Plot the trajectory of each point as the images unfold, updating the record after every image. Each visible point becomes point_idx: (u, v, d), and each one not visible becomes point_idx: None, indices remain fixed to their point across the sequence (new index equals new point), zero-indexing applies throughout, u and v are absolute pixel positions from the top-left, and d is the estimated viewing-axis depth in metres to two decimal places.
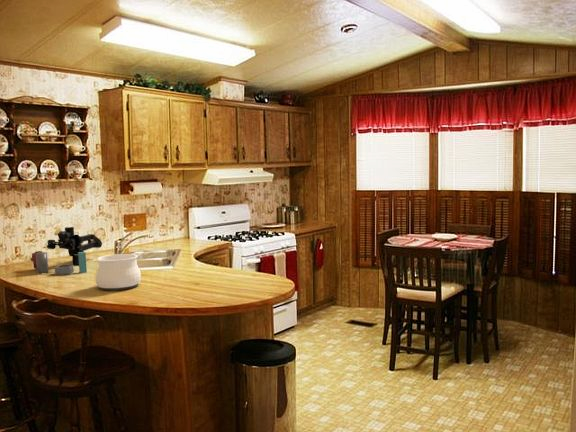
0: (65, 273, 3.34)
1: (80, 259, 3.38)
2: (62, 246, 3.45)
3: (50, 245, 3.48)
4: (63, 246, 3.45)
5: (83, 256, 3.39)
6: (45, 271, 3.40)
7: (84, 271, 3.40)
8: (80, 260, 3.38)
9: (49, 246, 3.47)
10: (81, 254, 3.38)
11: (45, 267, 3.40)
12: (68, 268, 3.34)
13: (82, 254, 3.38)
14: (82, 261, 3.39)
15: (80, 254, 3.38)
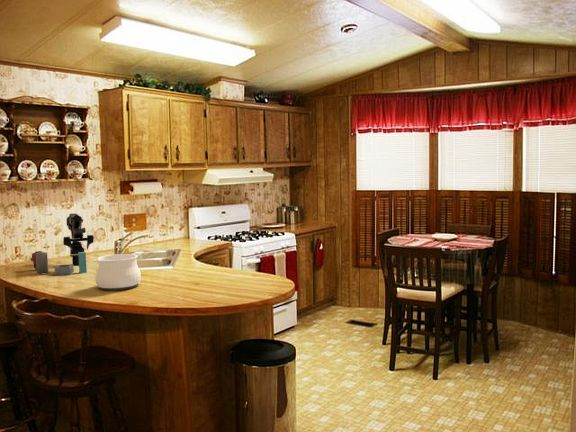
0: (65, 273, 3.34)
1: (80, 259, 3.38)
2: (88, 246, 3.50)
3: (71, 245, 3.46)
4: (88, 246, 3.51)
5: (83, 256, 3.39)
6: (45, 271, 3.40)
7: (84, 271, 3.40)
8: (80, 260, 3.38)
9: None
10: (81, 254, 3.38)
11: (45, 267, 3.40)
12: (68, 268, 3.34)
13: (82, 254, 3.38)
14: (82, 261, 3.39)
15: (80, 254, 3.38)
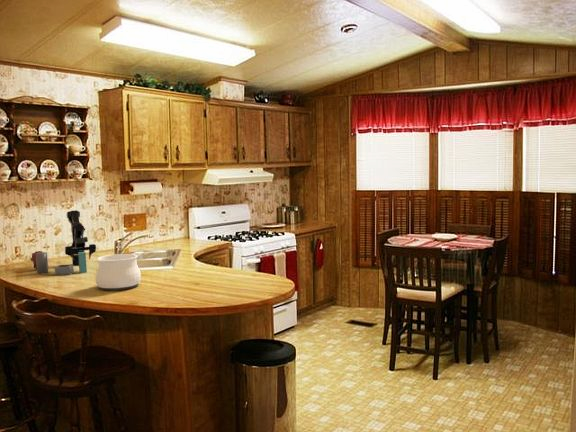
0: (65, 273, 3.34)
1: (80, 259, 3.38)
2: (90, 256, 3.44)
3: (73, 255, 3.41)
4: (90, 255, 3.45)
5: (83, 256, 3.39)
6: (45, 271, 3.40)
7: (84, 271, 3.40)
8: (80, 260, 3.38)
9: (74, 257, 3.40)
10: (81, 254, 3.38)
11: (45, 267, 3.40)
12: (68, 268, 3.34)
13: (82, 254, 3.38)
14: (82, 261, 3.39)
15: (80, 254, 3.38)
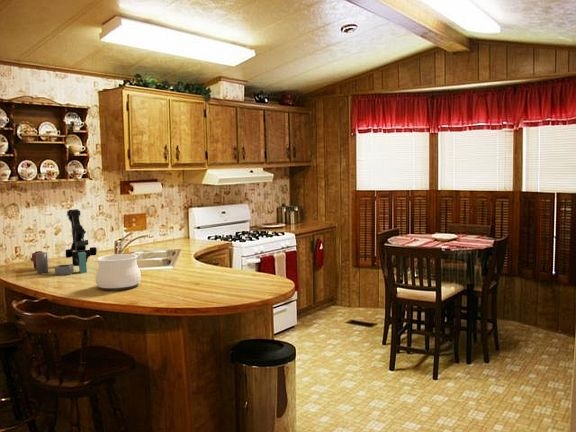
0: (65, 273, 3.34)
1: (80, 259, 3.38)
2: None
3: (78, 258, 3.40)
4: None
5: (83, 256, 3.39)
6: (45, 271, 3.40)
7: (84, 271, 3.40)
8: (80, 260, 3.38)
9: (78, 260, 3.40)
10: (81, 254, 3.38)
11: (45, 267, 3.40)
12: (68, 268, 3.34)
13: (82, 254, 3.38)
14: (82, 261, 3.39)
15: (80, 254, 3.38)
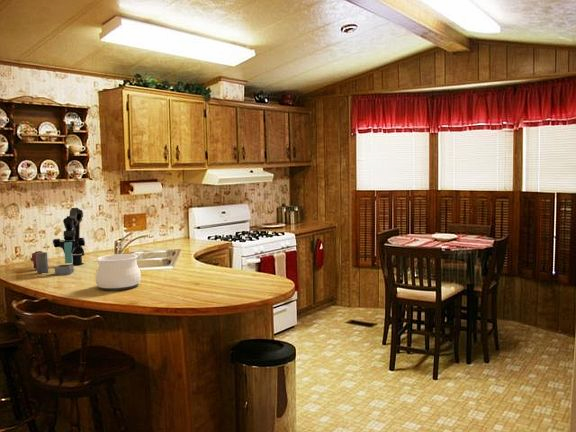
0: (65, 273, 3.34)
1: (65, 249, 3.35)
2: (73, 250, 3.38)
3: None
4: (73, 249, 3.39)
5: (68, 246, 3.35)
6: (45, 271, 3.40)
7: (69, 261, 3.36)
8: (65, 250, 3.35)
9: None
10: (66, 244, 3.35)
11: (45, 267, 3.40)
12: (68, 268, 3.34)
13: (67, 244, 3.35)
14: (67, 251, 3.35)
15: (65, 244, 3.35)
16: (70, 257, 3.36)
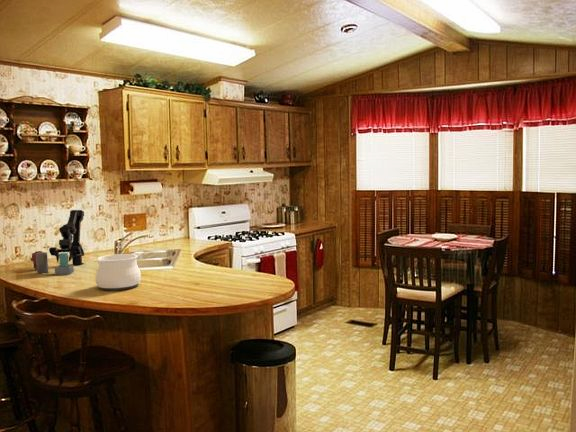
0: (65, 273, 3.34)
1: (60, 260, 3.36)
2: (70, 258, 3.38)
3: (58, 256, 3.38)
4: (71, 258, 3.39)
5: (63, 257, 3.36)
6: (45, 271, 3.40)
7: None
8: (60, 261, 3.36)
9: (58, 258, 3.38)
10: (61, 255, 3.35)
11: (45, 267, 3.40)
12: (68, 268, 3.34)
13: (62, 255, 3.35)
14: (62, 262, 3.36)
15: (60, 255, 3.35)
16: None
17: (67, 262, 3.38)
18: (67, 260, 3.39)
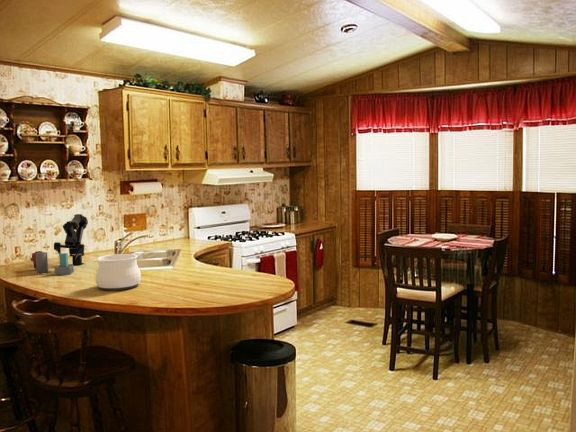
0: (65, 273, 3.34)
1: (60, 260, 3.35)
2: (76, 256, 3.49)
3: (60, 252, 3.46)
4: (77, 255, 3.50)
5: (63, 257, 3.35)
6: (45, 271, 3.40)
7: None
8: (60, 261, 3.35)
9: None
10: (61, 255, 3.35)
11: (45, 267, 3.40)
12: (68, 268, 3.34)
13: (62, 255, 3.35)
14: (62, 262, 3.36)
15: (60, 255, 3.35)
16: None
17: (67, 262, 3.38)
18: (67, 260, 3.39)
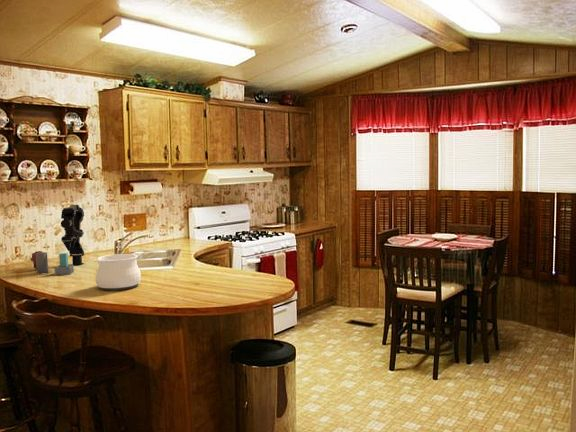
0: (65, 273, 3.34)
1: (60, 260, 3.35)
2: None
3: None
4: None
5: (63, 257, 3.35)
6: (45, 271, 3.40)
7: None
8: (60, 261, 3.35)
9: None
10: (61, 255, 3.35)
11: (45, 267, 3.40)
12: (68, 268, 3.34)
13: (62, 255, 3.35)
14: (62, 262, 3.36)
15: (60, 255, 3.35)
16: None
17: (67, 262, 3.38)
18: (67, 260, 3.39)
